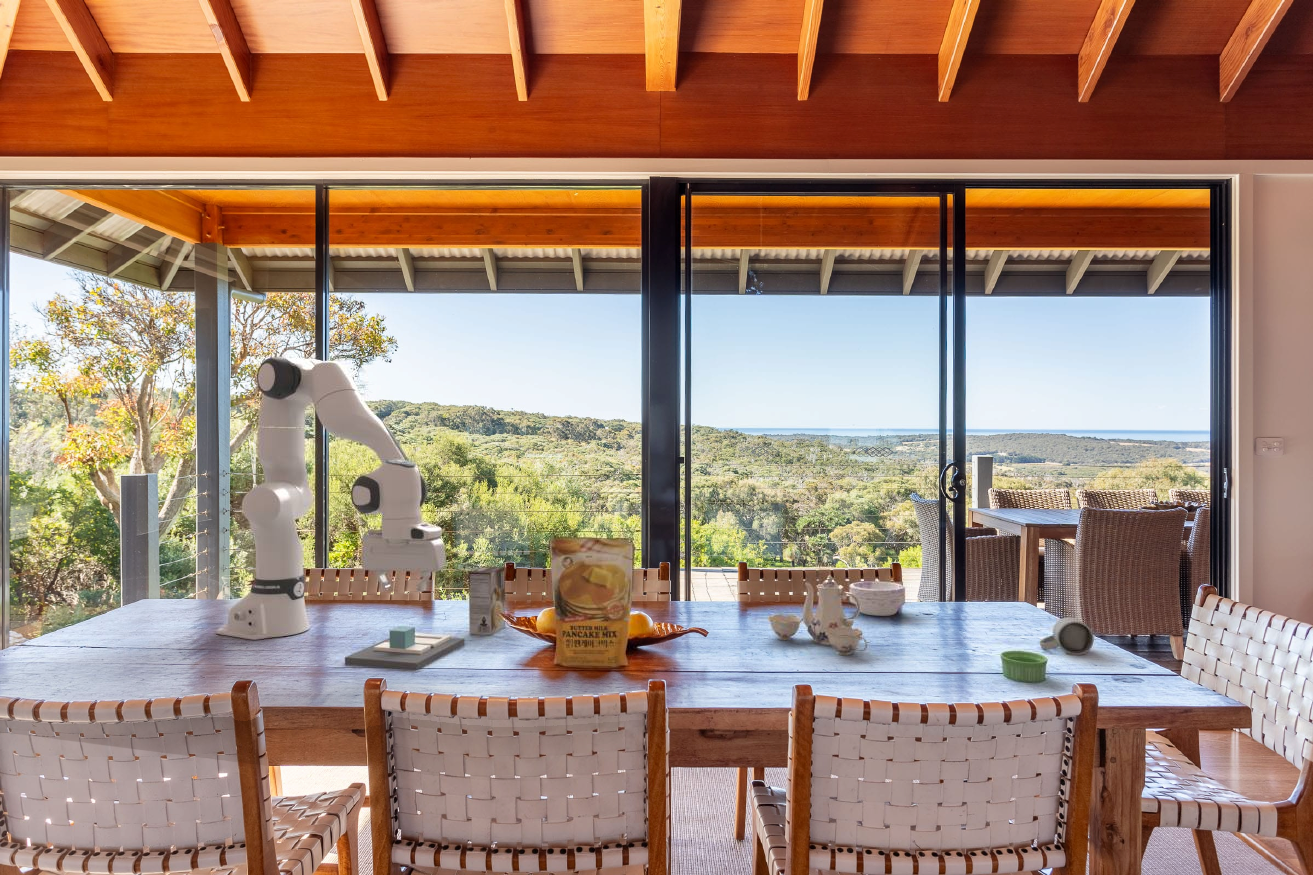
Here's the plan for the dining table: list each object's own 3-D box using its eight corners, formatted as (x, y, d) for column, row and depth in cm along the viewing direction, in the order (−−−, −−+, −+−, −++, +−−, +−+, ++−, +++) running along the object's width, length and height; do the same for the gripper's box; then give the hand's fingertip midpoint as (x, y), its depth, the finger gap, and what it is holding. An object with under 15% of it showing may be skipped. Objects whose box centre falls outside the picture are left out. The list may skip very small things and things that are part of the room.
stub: (373, 650, 181) (373, 629, 181) (385, 645, 185) (385, 624, 185) (420, 653, 178) (420, 632, 177) (430, 648, 182) (430, 628, 182)
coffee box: (483, 625, 210) (483, 565, 210) (506, 626, 209) (505, 566, 208) (468, 634, 201) (468, 571, 201) (492, 635, 200) (491, 572, 200)
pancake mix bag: (552, 658, 179) (551, 535, 179) (635, 660, 178) (635, 536, 178) (545, 667, 173) (545, 539, 172) (632, 669, 171) (631, 540, 171)
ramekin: (1033, 670, 170) (1033, 650, 170) (1056, 683, 161) (1056, 662, 161) (992, 670, 170) (992, 650, 170) (1013, 684, 161) (1013, 662, 161)
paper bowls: (861, 604, 235) (861, 578, 234) (912, 611, 226) (912, 583, 226) (841, 614, 222) (841, 586, 222) (894, 621, 213) (894, 592, 213)
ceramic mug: (1084, 646, 188) (1084, 614, 188) (1094, 656, 180) (1093, 622, 180) (1036, 644, 191) (1035, 613, 191) (1043, 653, 183) (1043, 620, 183)
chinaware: (756, 645, 196) (752, 580, 195) (793, 626, 208) (789, 564, 207) (858, 668, 177) (854, 596, 176) (892, 645, 189) (889, 578, 188)
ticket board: (344, 663, 175) (344, 653, 175) (399, 639, 196) (399, 630, 196) (416, 670, 171) (416, 658, 171) (464, 644, 191) (464, 634, 191)
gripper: (354, 531, 181) (355, 591, 181) (434, 532, 175) (435, 594, 175) (370, 527, 187) (372, 585, 187) (448, 528, 181) (449, 588, 182)
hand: (403, 589), depth 181 cm, fingers open, 8 cm apart
